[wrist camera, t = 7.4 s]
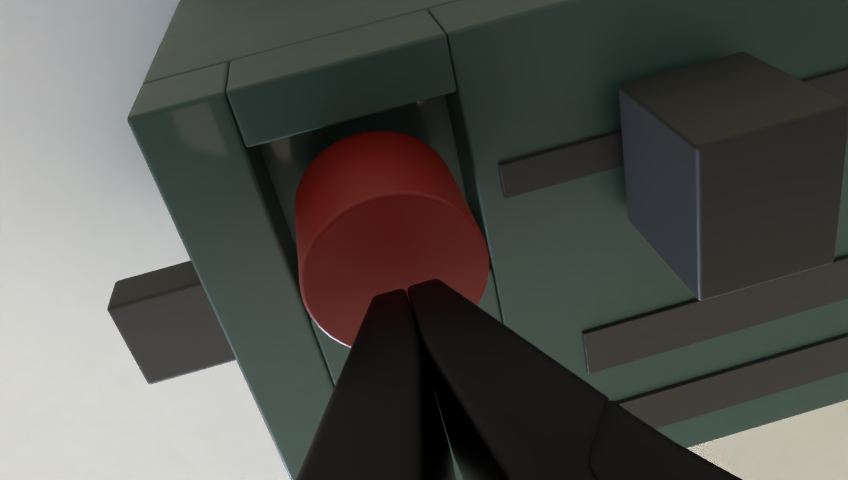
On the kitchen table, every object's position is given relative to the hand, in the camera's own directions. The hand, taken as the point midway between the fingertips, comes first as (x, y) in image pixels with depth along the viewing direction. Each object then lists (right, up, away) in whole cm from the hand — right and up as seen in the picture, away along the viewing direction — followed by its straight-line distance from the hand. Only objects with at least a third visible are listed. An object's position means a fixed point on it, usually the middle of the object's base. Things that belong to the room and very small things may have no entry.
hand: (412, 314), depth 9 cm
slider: (+4, +3, +2) cm, 5 cm away
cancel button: (-1, +1, +3) cm, 3 cm away
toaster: (+2, +5, +12) cm, 13 cm away
